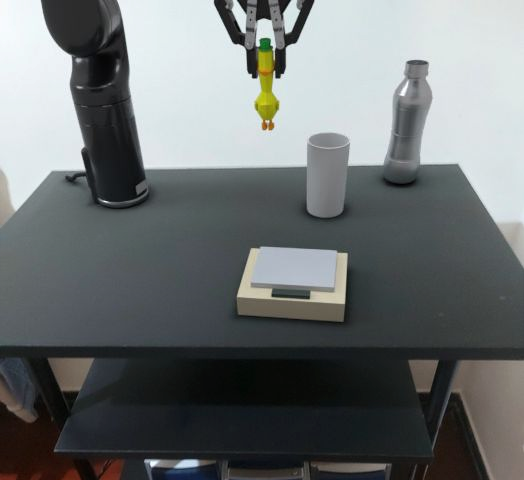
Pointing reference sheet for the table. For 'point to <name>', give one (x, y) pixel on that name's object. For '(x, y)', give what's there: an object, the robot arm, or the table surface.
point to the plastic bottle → (408, 123)
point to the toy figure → (266, 84)
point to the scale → (294, 284)
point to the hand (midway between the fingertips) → (266, 76)
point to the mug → (327, 173)
